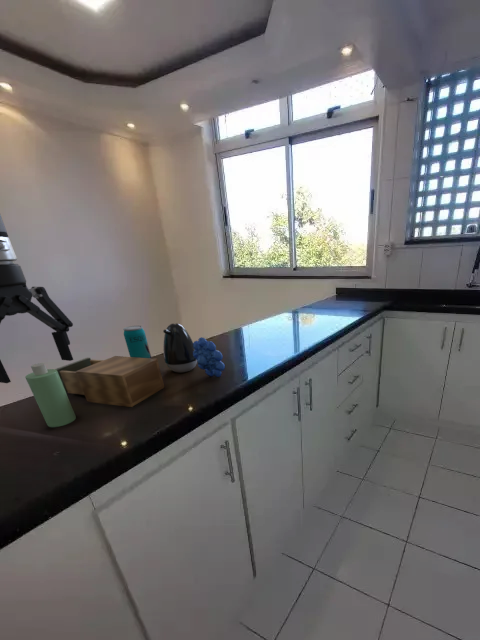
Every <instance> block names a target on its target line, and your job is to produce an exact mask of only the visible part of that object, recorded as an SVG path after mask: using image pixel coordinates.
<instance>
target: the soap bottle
mask: <svg viewBox="0 0 480 640" xmlns="http://www.w3.org/2000/svg"><path fill="white" fill-rule="evenodd" d="M30 368H31V371H32V372H30V373H28V374H26V375H25V377H24V378H25V380H26V383H27V384H28V386H29V389H30V391H31V393H32V396H33V398H34V400H35V402H36V403H37V406H38V408H39V410H40V412H41V415H42V417H43V419H44V421H45V423H46V426H47V427H49V428H59V427H63V426H66V425H69V424H71V423H73V422H74V421H75V420H76V419H77V416H76V413H75V411H74V409H73V406H72V403H71V401H70V399H69V397H68V394H67V393H66V391H65V389H64V386H63V384H62V381H61V379H60V377H59V374H58V372H57V370H55V369H56V368H47V366H46V364H45V363H44V362H39V363H34V364H32V365H30Z"/></svg>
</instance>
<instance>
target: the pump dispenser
mask: <svg viewBox="0 0 480 640" xmlns="http://www.w3.org/2000/svg"><path fill="white" fill-rule="evenodd" d="M162 333H163V334H164V336H163V344H162V345H163V349H162V350H163V359H164V363H165V364H166V365H167V367H168V368H169V369H170V371H172V372H175V373H178V374H179V373H181V374H182V373H188V372H190V371H192V370H194V368H196V366H197V365H198V362H197V359H195V358H194V356H193V351H194V350H195V349H194V347H193V343H194V341H193V339H192V337H191V335H190V333H189V332H188V331H187V329H186V328H185V327H184V326H183V325H182V324H180V323H178V322H173V323H170V324H168V325H167V326H166V329H163V332H162Z"/></svg>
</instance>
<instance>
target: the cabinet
mask: <svg viewBox="0 0 480 640" xmlns="http://www.w3.org/2000/svg"><path fill="white" fill-rule="evenodd" d="M151 358H152V357H151ZM151 358H137V357H130V356H123V355H122V356H120V355H114V356H111V357H109V358H106V359H104V360H103V359H102V360H103V361H101V362H98V363H96V364H93V365H91V366H88V367H85V368H83V369H80V370H78V371H76V374H77V376H78V379H79V382H80V384H81V387H82V389H83V392H84V395H83V396H84V397H85V400H86V402H87V403H94V404H95V403H96V404H101V405H103V404H104V405H109V406H110V405H111V406H118V407H125V408H127V407H128V408H133V407H134V406H136V405H138V404H140V403H141V402H142V401H145V400H146V399H148V398H150V397H151V396H152V395H155V394H156V393H158V392H159V391H161V390H163V389H164V388H165V383H164V379H163V376H162V372H161V368H160V364H159V360H158V358H152V359H151Z"/></svg>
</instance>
